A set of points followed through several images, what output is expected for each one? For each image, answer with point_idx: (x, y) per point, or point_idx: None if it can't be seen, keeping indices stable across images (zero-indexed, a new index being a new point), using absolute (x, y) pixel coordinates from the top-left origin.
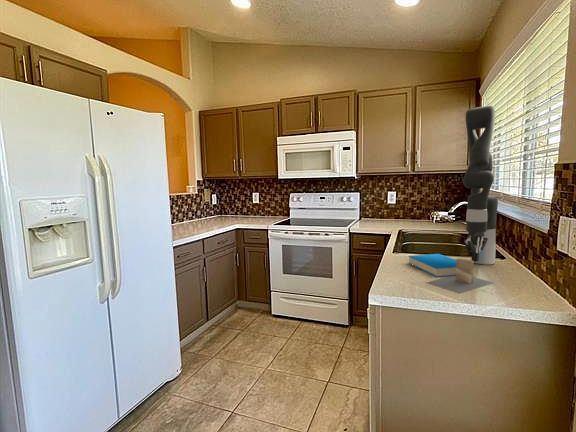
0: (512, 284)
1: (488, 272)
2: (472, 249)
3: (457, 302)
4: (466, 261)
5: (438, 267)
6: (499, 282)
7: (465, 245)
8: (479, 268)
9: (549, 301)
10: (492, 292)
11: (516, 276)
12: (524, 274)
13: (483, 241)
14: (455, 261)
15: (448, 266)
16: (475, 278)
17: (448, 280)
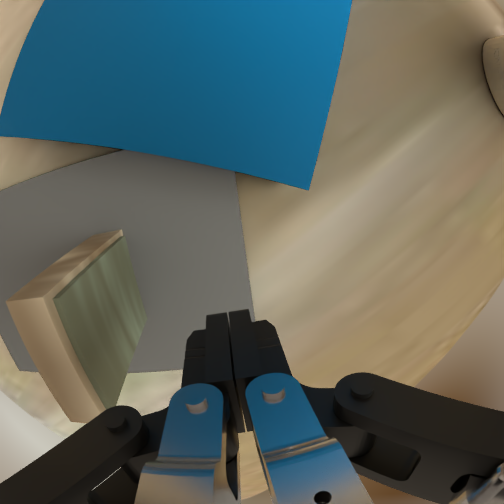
0: (327, 377)
1: (424, 191)
2: (109, 490)
3: (2, 391)
4: (55, 391)
5: (13, 130)
6: (308, 343)
7: (13, 478)
8: (444, 115)
9: (255, 478)
10: (153, 408)
11: (447, 300)
12: (482, 290)
13: (453, 496)
14: (304, 20)
15: (88, 127)
16: (229, 267)
17: (48, 227)
